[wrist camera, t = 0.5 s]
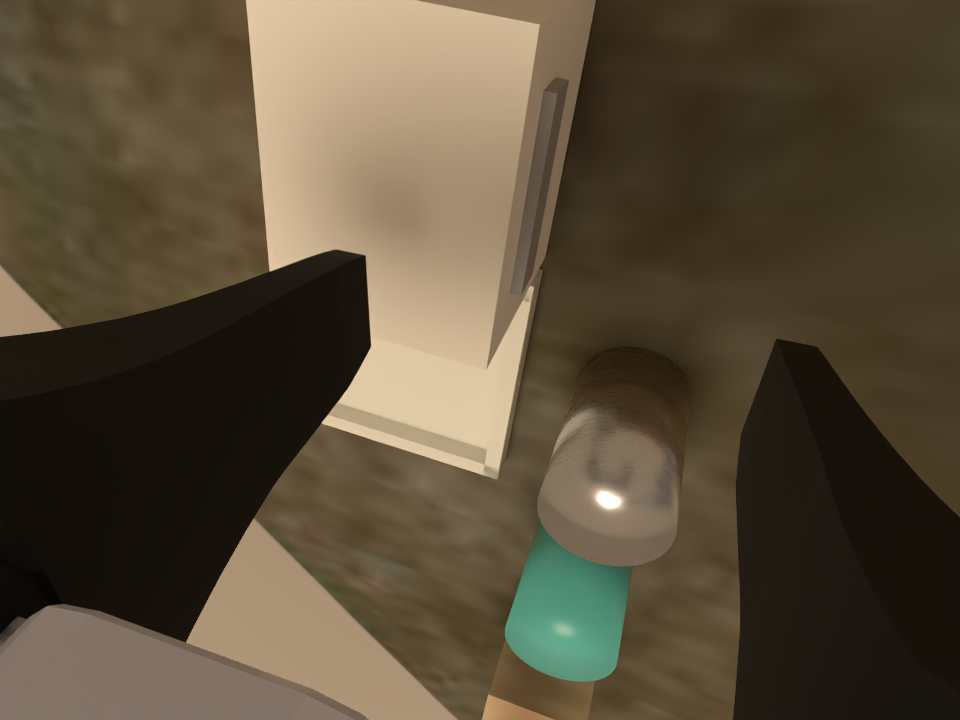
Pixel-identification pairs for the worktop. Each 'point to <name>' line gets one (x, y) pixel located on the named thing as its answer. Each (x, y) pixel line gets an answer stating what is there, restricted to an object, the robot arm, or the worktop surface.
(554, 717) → the oak block
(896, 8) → the worktop surface
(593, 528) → the cylinder
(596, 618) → the cylinder
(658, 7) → the worktop surface
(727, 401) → the worktop surface
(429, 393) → the tray
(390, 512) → the worktop surface
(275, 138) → the block
